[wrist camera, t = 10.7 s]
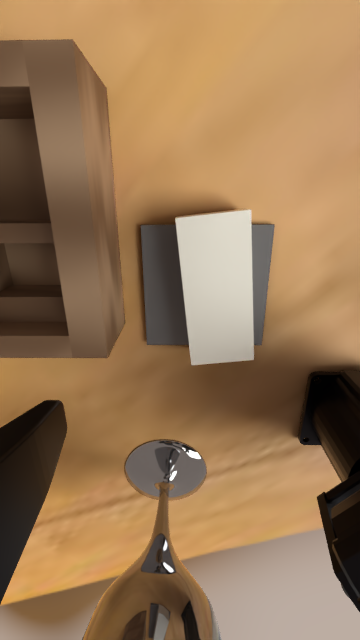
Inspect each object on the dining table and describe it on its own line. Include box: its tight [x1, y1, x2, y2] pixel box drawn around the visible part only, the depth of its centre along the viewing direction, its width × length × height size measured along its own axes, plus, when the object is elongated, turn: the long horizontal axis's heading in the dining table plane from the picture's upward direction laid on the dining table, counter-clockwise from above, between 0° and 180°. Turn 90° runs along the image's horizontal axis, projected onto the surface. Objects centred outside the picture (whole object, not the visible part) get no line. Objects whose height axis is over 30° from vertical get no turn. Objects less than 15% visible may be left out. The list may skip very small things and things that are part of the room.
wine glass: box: [82, 440, 222, 640], centre depth 19 cm, size 8×8×15 cm
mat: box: [141, 224, 274, 345], centre depth 19 cm, size 8×8×1 cm
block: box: [175, 209, 254, 365], centre depth 18 cm, size 9×4×2 cm, turn 6°
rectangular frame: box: [0, 39, 125, 358], centre depth 16 cm, size 13×9×5 cm
